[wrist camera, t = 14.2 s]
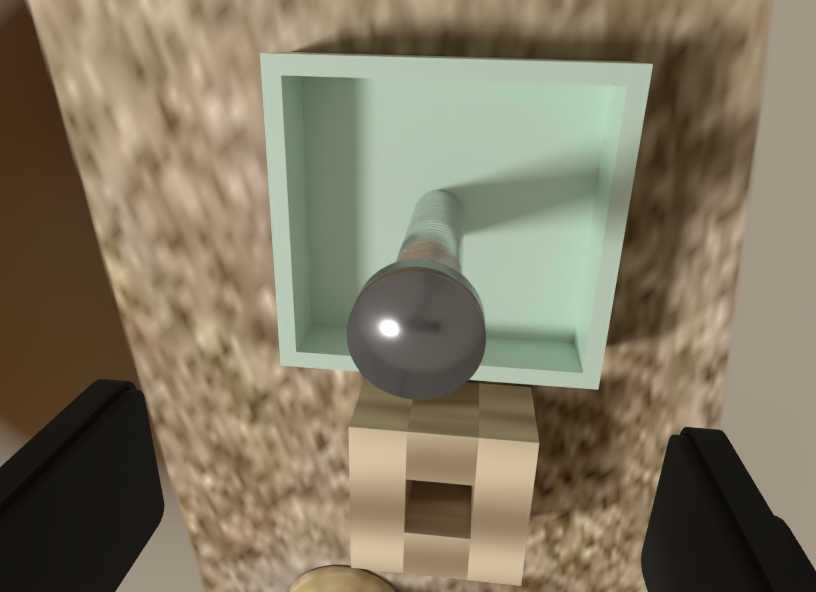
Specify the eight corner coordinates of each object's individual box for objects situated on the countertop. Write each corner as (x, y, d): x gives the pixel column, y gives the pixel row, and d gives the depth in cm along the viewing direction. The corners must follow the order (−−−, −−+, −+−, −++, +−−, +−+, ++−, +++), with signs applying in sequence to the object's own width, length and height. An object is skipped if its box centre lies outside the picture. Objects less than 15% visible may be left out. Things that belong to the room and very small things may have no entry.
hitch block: (366, 374, 34) (348, 427, 29) (530, 386, 33) (539, 443, 28) (367, 502, 37) (351, 567, 32) (515, 517, 36) (520, 585, 32)
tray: (289, 52, 27) (260, 53, 24) (628, 61, 26) (653, 64, 22) (302, 329, 33) (280, 365, 29) (584, 349, 31) (598, 389, 28)
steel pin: (399, 173, 28) (345, 269, 16) (482, 176, 28) (491, 278, 16) (398, 251, 29) (347, 395, 17) (476, 255, 29) (481, 404, 17)
